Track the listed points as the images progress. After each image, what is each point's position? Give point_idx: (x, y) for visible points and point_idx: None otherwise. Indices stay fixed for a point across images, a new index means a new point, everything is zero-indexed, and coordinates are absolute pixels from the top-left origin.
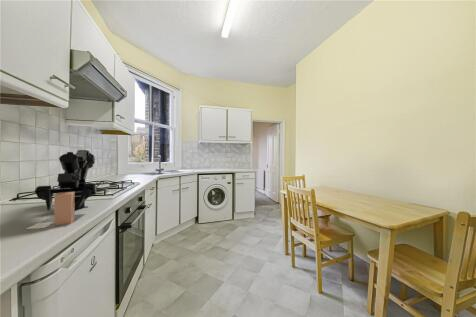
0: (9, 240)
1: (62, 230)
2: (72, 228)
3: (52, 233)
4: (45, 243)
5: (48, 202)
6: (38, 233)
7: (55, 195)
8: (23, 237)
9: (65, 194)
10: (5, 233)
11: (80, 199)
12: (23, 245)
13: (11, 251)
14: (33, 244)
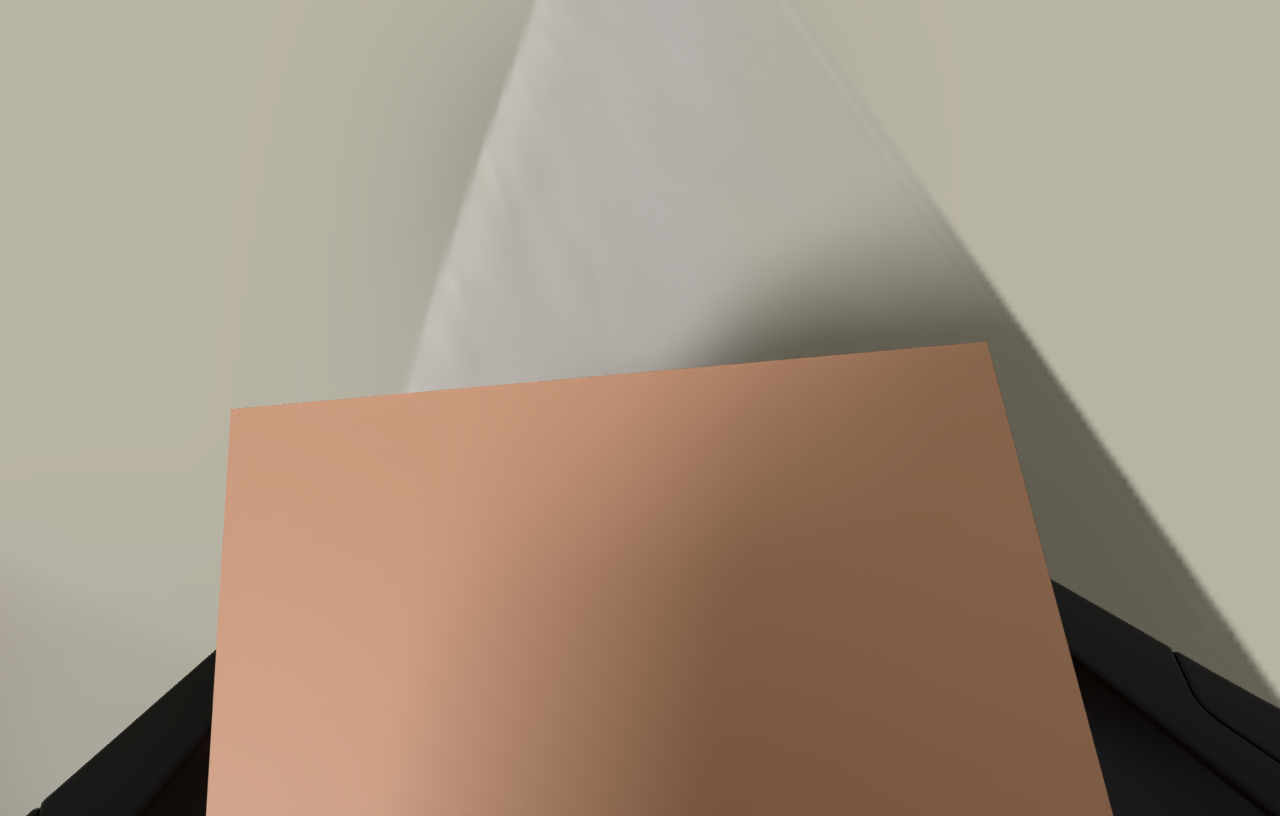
0: (942, 259)
1: (571, 353)
2: (481, 380)
3: (639, 297)
4: (596, 74)
5: None
6: (782, 353)
7: (934, 348)
8: (864, 290)
9: (523, 399)
10: (1126, 487)
11: (172, 734)
12: (752, 101)
13: (774, 25)
14: (683, 91)
